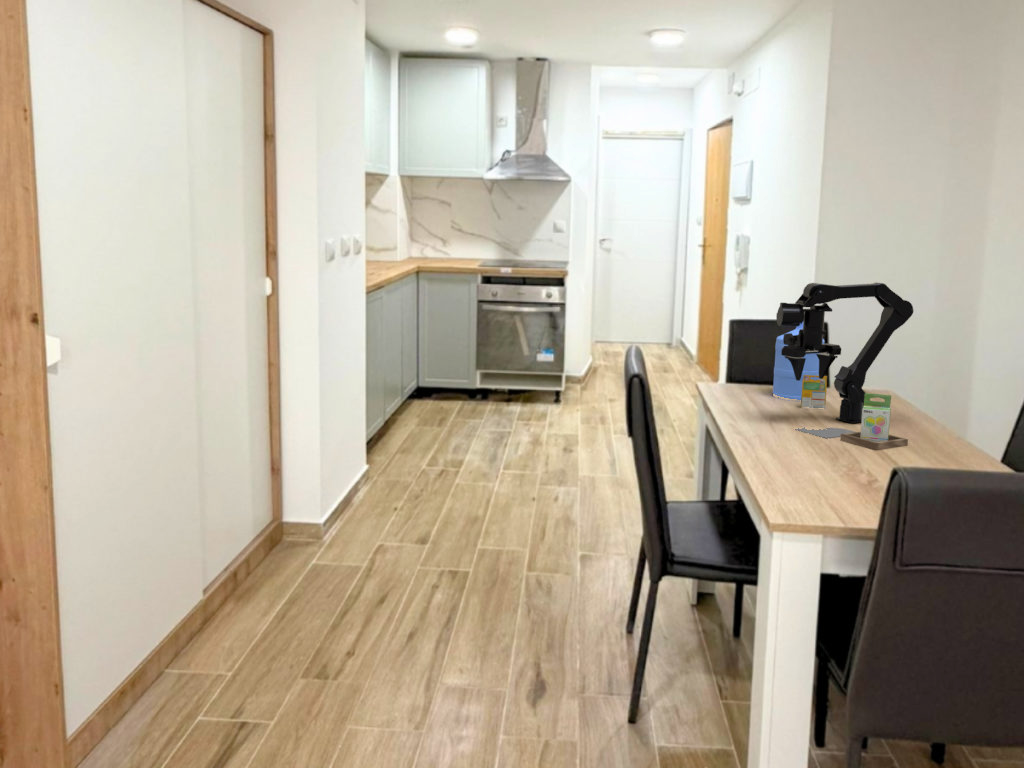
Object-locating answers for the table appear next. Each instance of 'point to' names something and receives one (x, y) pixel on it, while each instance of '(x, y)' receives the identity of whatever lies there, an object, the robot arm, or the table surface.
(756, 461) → the table surface
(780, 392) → the water jug
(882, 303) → the robot arm
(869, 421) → the ink box
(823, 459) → the table surface
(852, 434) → the holder
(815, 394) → the crayon box
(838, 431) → the mat
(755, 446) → the table surface
